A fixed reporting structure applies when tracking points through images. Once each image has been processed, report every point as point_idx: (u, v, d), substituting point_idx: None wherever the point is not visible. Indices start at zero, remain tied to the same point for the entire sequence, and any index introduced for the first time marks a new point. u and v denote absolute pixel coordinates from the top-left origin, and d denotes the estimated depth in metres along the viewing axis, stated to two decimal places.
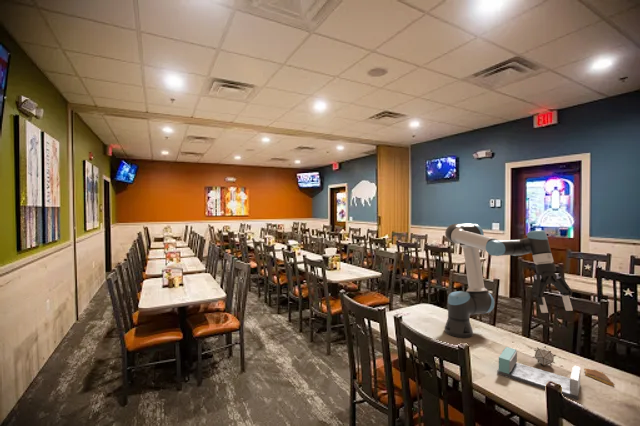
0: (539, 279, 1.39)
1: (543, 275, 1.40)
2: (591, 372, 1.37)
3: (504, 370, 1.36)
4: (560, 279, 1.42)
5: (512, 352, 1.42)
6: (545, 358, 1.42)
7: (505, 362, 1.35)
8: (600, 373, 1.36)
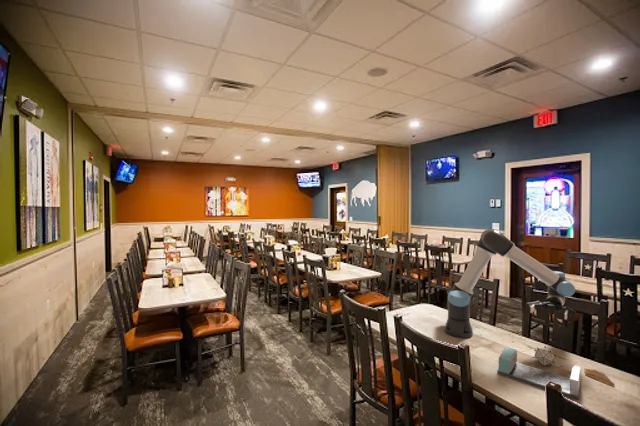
0: None
1: None
2: (591, 372, 1.37)
3: (504, 370, 1.36)
4: None
5: (512, 352, 1.42)
6: (545, 358, 1.42)
7: (505, 362, 1.35)
8: (600, 373, 1.36)
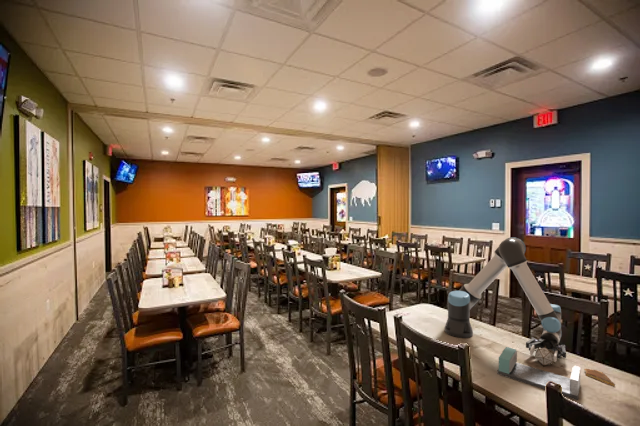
0: None
1: None
2: (591, 372, 1.37)
3: (504, 370, 1.36)
4: (534, 343, 1.56)
5: (512, 352, 1.42)
6: (545, 358, 1.42)
7: (505, 362, 1.35)
8: (600, 373, 1.36)
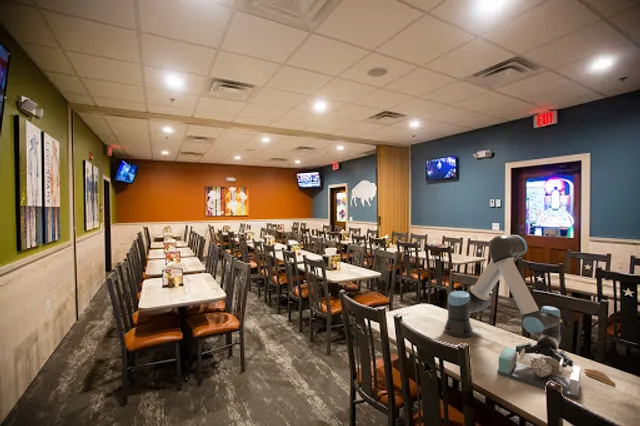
0: None
1: None
2: (592, 372, 1.37)
3: (504, 370, 1.36)
4: None
5: (512, 352, 1.42)
6: (542, 369, 1.29)
7: (505, 362, 1.35)
8: (600, 373, 1.36)
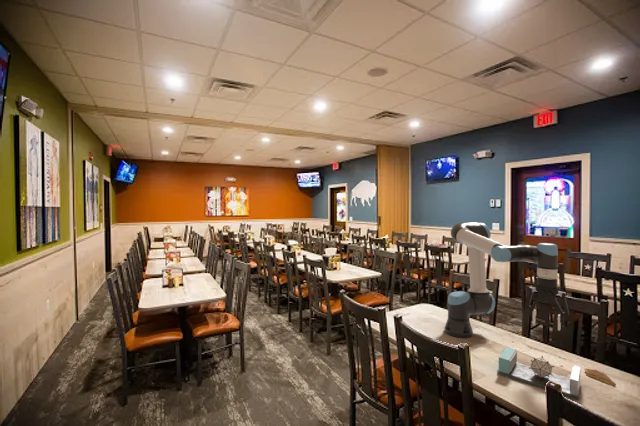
0: (530, 292, 1.44)
1: (537, 288, 1.43)
2: (592, 372, 1.37)
3: (504, 370, 1.36)
4: None
5: (512, 352, 1.42)
6: (542, 369, 1.29)
7: (505, 362, 1.35)
8: (601, 373, 1.36)
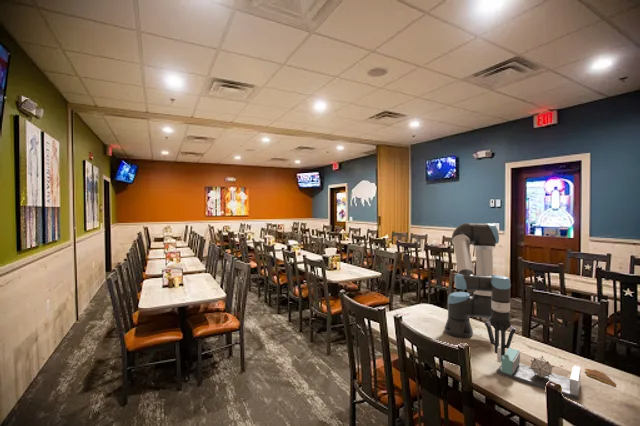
0: (488, 327, 1.45)
1: (491, 321, 1.44)
2: (592, 372, 1.37)
3: (507, 371, 1.35)
4: (510, 332, 1.39)
5: (515, 353, 1.41)
6: (542, 369, 1.29)
7: (508, 363, 1.34)
8: (601, 373, 1.36)
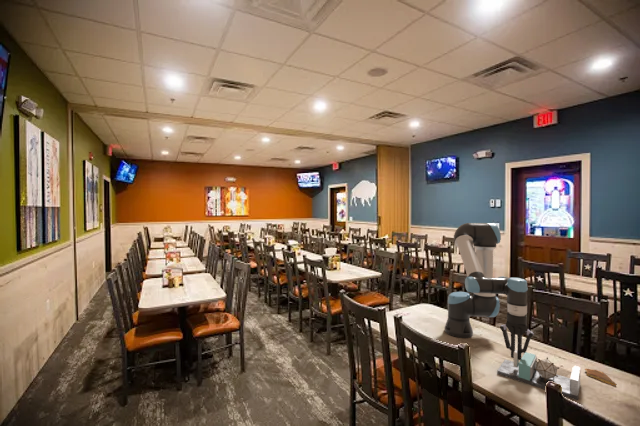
0: (503, 331, 1.41)
1: (506, 324, 1.40)
2: (592, 372, 1.37)
3: (524, 376, 1.30)
4: (527, 336, 1.35)
5: (532, 358, 1.36)
6: (546, 371, 1.28)
7: (526, 368, 1.30)
8: (601, 373, 1.36)
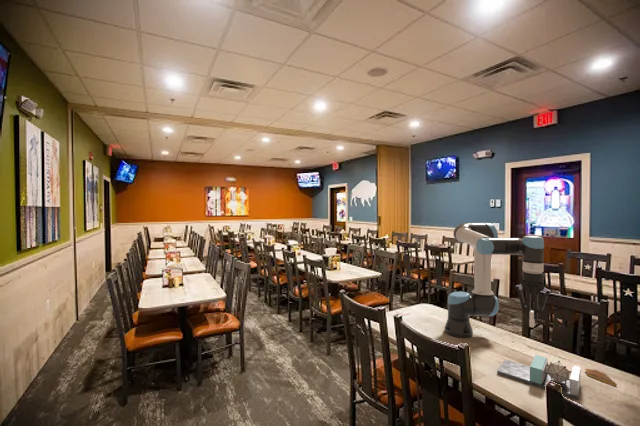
0: (519, 290, 1.36)
1: (522, 284, 1.36)
2: (592, 372, 1.37)
3: (536, 380, 1.28)
4: (544, 294, 1.31)
5: (543, 361, 1.34)
6: (559, 374, 1.25)
7: (537, 372, 1.27)
8: (601, 373, 1.36)
